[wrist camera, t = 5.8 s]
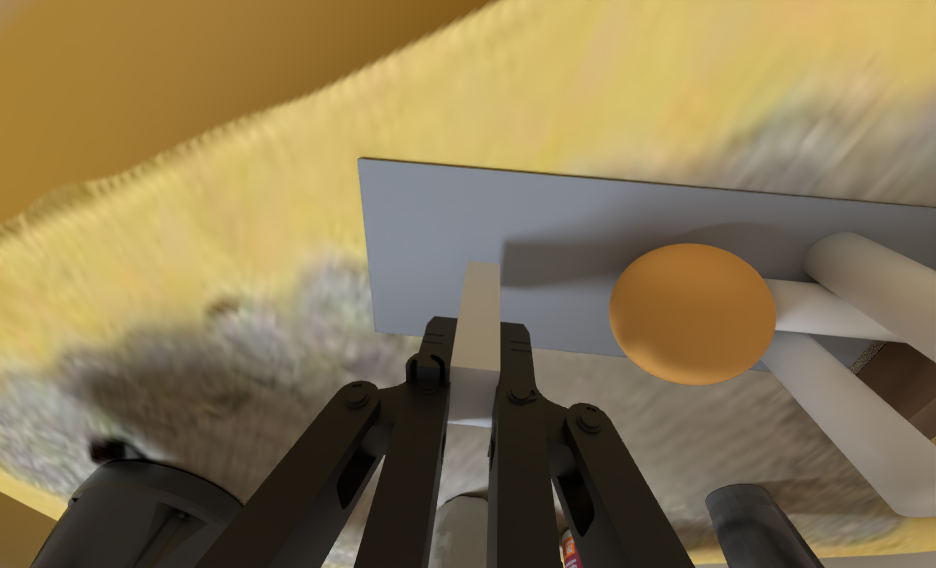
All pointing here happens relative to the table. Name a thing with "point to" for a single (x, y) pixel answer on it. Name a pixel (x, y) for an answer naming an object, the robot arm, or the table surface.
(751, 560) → the beverage cup
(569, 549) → the pill bottle
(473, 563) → the ceramic sculpture
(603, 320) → the lane mat
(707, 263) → the ball
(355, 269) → the table surface
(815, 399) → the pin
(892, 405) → the back wall
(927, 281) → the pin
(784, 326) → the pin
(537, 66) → the table surface
